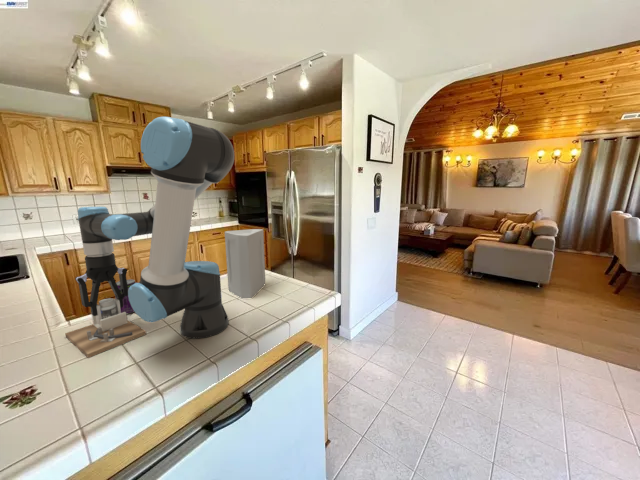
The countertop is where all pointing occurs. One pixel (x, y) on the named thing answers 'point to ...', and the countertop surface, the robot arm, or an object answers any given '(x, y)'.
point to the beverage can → (126, 298)
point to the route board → (95, 346)
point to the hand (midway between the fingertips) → (109, 320)
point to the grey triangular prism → (245, 261)
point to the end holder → (111, 321)
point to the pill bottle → (107, 307)
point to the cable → (112, 336)
